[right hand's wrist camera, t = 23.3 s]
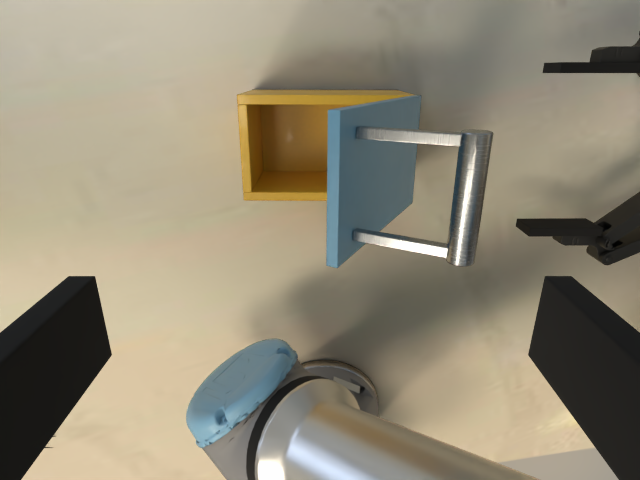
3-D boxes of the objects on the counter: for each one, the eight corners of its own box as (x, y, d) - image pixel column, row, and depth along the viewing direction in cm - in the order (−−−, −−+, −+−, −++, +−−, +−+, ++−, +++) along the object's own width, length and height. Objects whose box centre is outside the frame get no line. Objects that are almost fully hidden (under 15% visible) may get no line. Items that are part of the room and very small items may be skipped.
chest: (257, 176, 50) (243, 200, 41) (253, 89, 47) (236, 94, 37) (391, 176, 50) (407, 201, 41) (397, 89, 47) (416, 95, 37)
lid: (326, 265, 27) (463, 296, 24) (327, 109, 24) (489, 117, 20) (404, 201, 41) (500, 215, 37) (412, 95, 37) (519, 98, 34)
